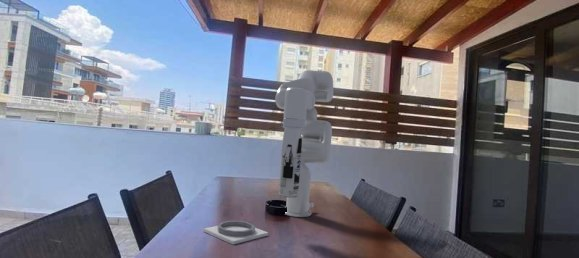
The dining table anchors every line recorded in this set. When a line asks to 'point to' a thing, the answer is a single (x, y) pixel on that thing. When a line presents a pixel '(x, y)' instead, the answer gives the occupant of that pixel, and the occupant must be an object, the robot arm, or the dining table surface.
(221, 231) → the collar plate
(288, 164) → the robot arm
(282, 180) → the spray can
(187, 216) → the dining table surface
